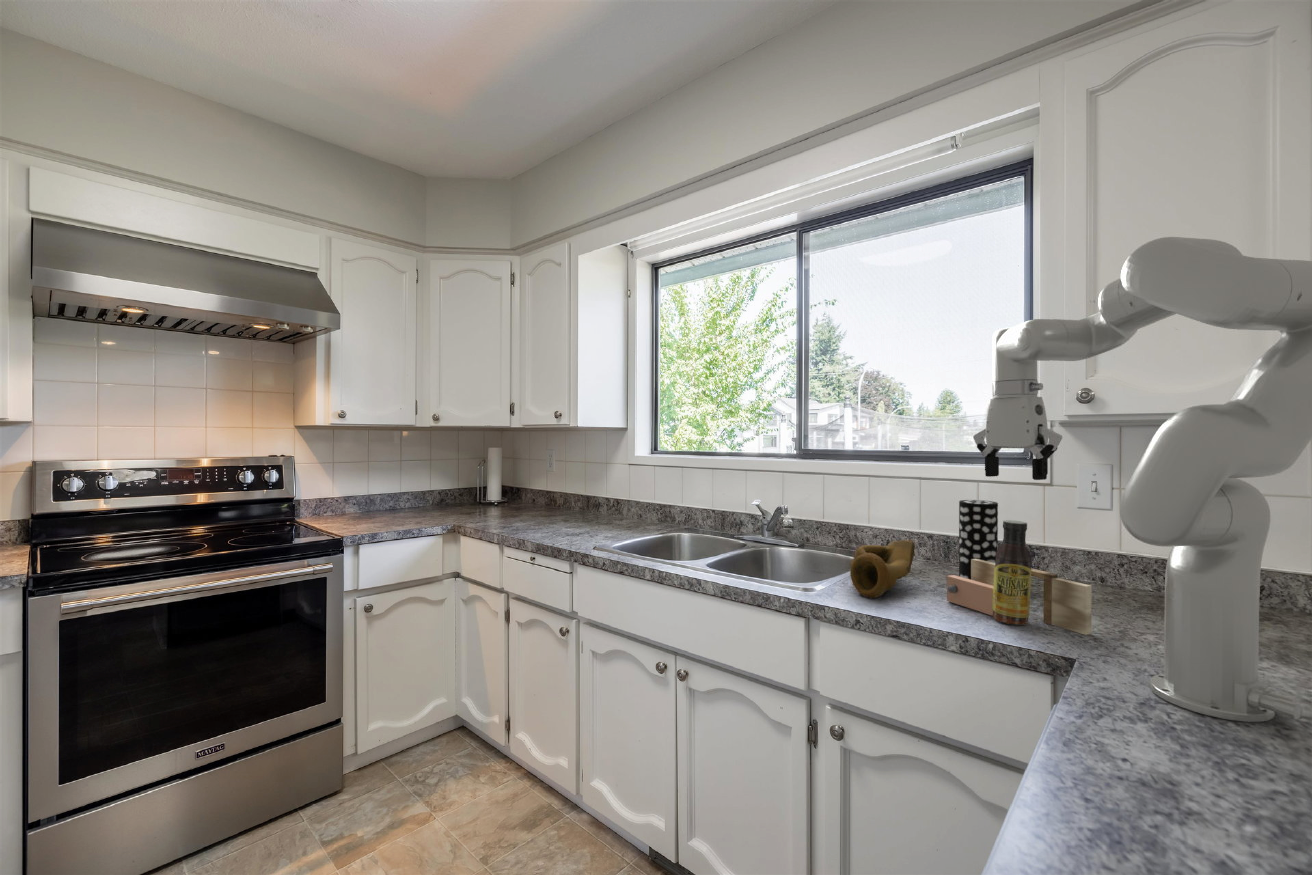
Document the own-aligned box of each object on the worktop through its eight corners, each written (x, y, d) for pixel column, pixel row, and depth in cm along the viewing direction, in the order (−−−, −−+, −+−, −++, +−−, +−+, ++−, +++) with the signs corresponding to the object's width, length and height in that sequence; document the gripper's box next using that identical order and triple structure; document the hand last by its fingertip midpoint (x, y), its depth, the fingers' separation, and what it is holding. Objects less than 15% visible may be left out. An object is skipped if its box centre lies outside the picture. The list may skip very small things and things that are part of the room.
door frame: (1092, 633, 107) (1092, 582, 107) (1085, 635, 107) (1085, 583, 106) (976, 598, 130) (976, 555, 129) (970, 599, 129) (970, 556, 129)
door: (999, 614, 118) (999, 587, 118) (989, 616, 116) (989, 589, 116) (953, 599, 128) (953, 574, 128) (943, 601, 127) (943, 576, 127)
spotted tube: (996, 589, 137) (997, 505, 136) (957, 584, 141) (957, 502, 141) (998, 581, 144) (998, 501, 143) (960, 577, 148) (960, 499, 148)
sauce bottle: (993, 623, 113) (993, 522, 113) (991, 614, 119) (992, 517, 118) (1032, 628, 110) (1033, 524, 110) (1029, 619, 116) (1030, 520, 115)
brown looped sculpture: (955, 559, 136) (895, 554, 125) (934, 607, 139) (873, 606, 128) (893, 524, 152) (835, 517, 141) (875, 568, 155) (817, 564, 144)
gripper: (1073, 388, 107) (1073, 480, 108) (987, 394, 123) (987, 474, 123) (1046, 387, 104) (1047, 481, 105) (962, 393, 120) (962, 475, 120)
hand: (1014, 477), depth 114 cm, fingers open, 9 cm apart
